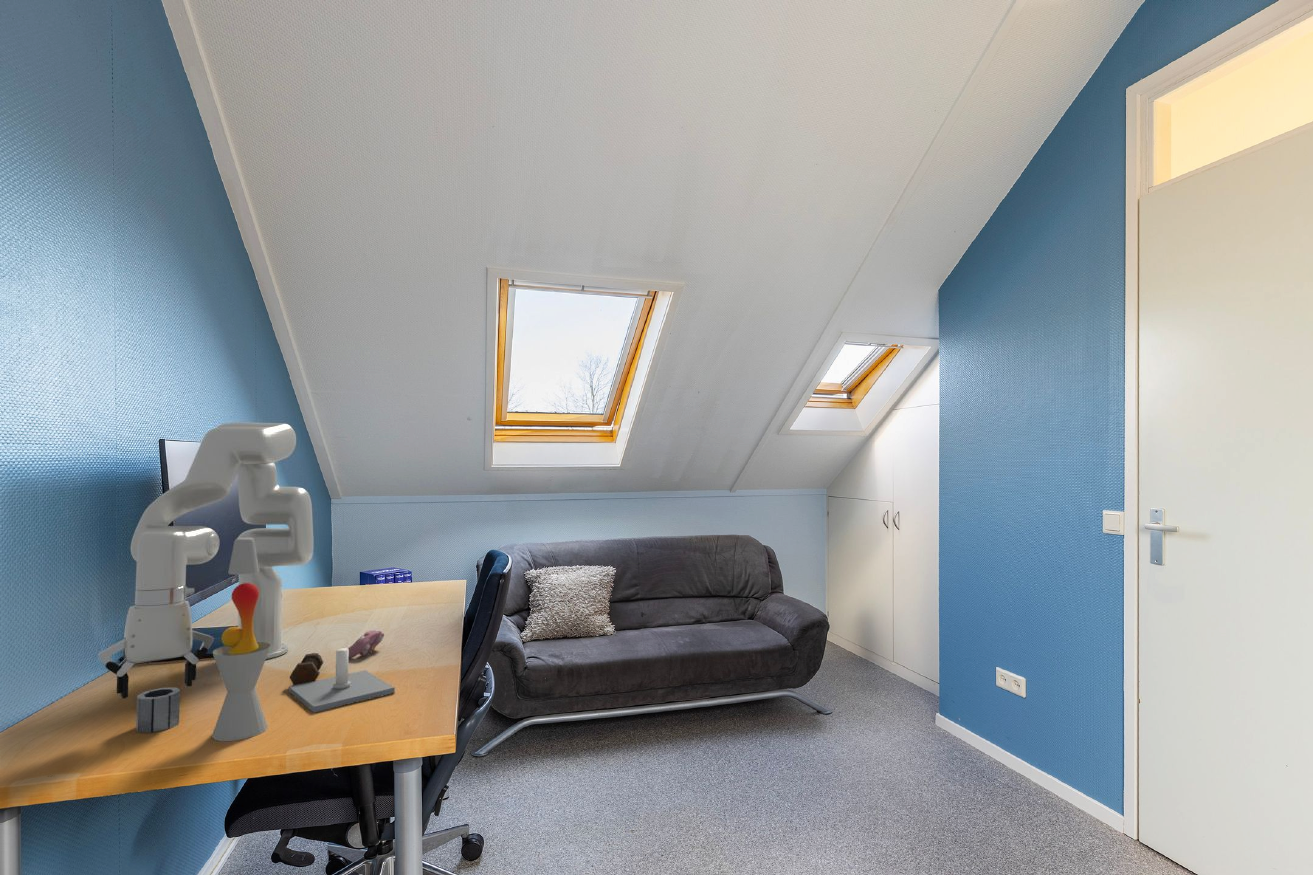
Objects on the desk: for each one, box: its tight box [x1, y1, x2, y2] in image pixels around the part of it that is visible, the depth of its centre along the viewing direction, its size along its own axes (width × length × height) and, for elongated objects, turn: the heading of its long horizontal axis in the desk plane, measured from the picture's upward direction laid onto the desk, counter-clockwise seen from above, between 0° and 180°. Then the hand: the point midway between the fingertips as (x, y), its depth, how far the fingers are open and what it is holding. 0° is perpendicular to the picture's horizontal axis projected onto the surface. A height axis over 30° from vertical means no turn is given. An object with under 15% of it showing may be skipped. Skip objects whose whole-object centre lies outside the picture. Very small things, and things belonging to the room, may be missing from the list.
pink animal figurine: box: [347, 629, 385, 660], centre depth 172 cm, size 10×5×7 cm, turn 171°
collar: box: [135, 687, 181, 734], centre depth 126 cm, size 6×6×6 cm
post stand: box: [288, 647, 396, 714], centre depth 144 cm, size 16×16×9 cm
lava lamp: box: [211, 537, 270, 742], centre depth 124 cm, size 9×9×35 cm
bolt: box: [289, 652, 324, 686], centre depth 154 cm, size 6×5×15 cm
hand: (157, 690), depth 125 cm, fingers open, 9 cm apart
